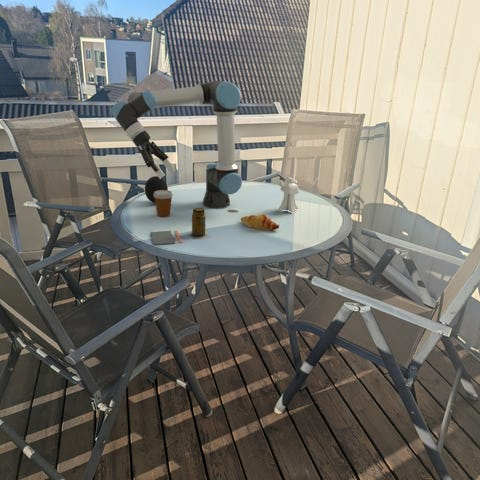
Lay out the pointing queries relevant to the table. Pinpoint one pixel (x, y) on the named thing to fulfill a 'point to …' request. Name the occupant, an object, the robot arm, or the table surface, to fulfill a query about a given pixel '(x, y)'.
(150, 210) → the table surface
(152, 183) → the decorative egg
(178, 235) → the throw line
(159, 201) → the disposable coffee cup
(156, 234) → the mat
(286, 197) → the white mech figurine
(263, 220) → the croissant
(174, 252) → the table surface
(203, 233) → the condiment
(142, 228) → the table surface
